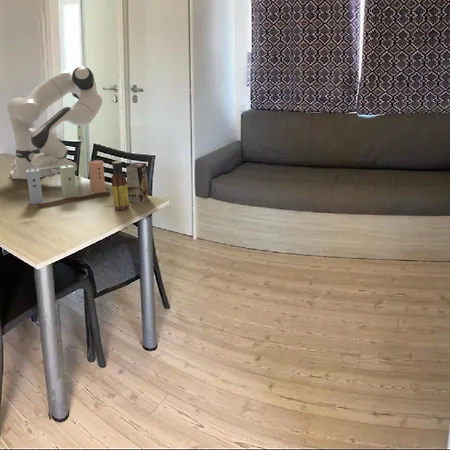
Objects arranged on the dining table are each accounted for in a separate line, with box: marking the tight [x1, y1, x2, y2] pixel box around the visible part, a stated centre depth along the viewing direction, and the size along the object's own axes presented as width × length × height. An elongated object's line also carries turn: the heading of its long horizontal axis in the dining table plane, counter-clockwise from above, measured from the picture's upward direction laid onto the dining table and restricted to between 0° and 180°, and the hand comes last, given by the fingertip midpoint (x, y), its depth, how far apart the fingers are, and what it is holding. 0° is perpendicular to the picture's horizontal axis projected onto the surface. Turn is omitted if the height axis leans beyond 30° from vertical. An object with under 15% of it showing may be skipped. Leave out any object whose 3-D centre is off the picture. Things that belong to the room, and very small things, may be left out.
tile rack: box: [36, 190, 111, 209], centre depth 241 cm, size 14×35×3 cm, turn 126°
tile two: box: [26, 169, 44, 205], centre depth 232 cm, size 4×5×14 cm
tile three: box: [87, 159, 106, 194], centre depth 247 cm, size 4×5×14 cm
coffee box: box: [125, 162, 149, 205], centre depth 238 cm, size 9×6×16 cm
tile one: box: [59, 165, 78, 199], centre depth 238 cm, size 4×5×14 cm
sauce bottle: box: [110, 160, 130, 211], centre depth 227 cm, size 6×6×20 cm
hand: (59, 172), depth 247 cm, fingers closed
